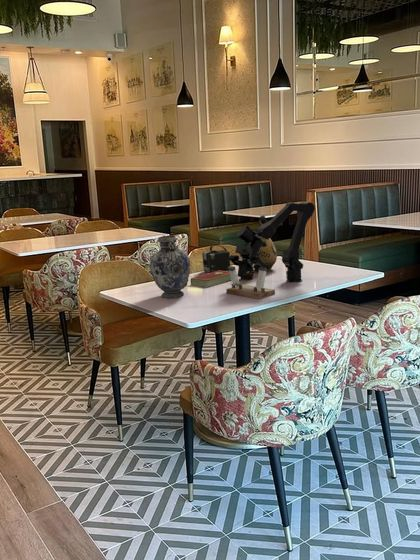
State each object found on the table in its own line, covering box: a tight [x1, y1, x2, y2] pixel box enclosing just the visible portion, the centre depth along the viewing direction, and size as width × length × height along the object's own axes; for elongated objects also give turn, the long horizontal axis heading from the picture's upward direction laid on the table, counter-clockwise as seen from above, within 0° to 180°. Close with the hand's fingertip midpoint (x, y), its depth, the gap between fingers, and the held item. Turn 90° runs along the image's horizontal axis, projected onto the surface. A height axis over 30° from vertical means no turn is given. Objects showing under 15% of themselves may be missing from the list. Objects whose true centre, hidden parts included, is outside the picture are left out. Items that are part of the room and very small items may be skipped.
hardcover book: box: [190, 271, 232, 288], centre depth 273 cm, size 12×21×4 cm, turn 136°
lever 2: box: [255, 267, 268, 289], centre depth 236 cm, size 2×3×9 cm, turn 41°
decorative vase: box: [149, 234, 191, 299], centre depth 247 cm, size 21×19×28 cm
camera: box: [202, 244, 231, 274], centre depth 299 cm, size 11×14×15 cm
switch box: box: [226, 283, 276, 300], centre depth 242 cm, size 11×20×4 cm, turn 42°
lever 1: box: [228, 265, 241, 287], centre depth 244 cm, size 2×3×9 cm, turn 42°
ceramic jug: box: [254, 214, 278, 272], centre depth 292 cm, size 17×15×30 cm
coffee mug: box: [239, 266, 259, 281], centre depth 273 cm, size 12×9×10 cm
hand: (238, 276), depth 246 cm, fingers closed
